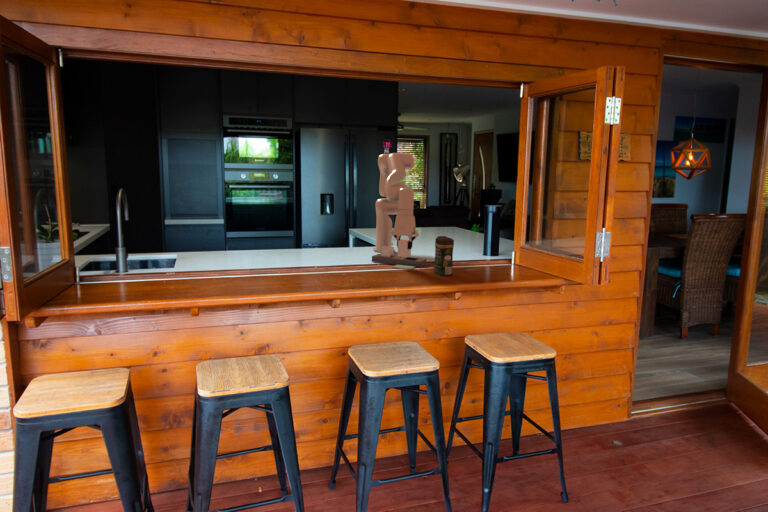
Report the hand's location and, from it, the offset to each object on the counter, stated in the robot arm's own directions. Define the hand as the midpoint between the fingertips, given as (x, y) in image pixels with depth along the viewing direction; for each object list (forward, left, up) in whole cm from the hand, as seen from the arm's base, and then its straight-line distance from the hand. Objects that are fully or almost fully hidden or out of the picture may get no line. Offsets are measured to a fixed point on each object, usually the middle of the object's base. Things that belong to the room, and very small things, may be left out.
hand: (404, 248), depth 265 cm
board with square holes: (-11, -7, -10) cm, 16 cm away
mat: (0, 0, -10) cm, 10 cm away
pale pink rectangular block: (0, 0, -4) cm, 4 cm away
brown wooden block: (-11, -14, -10) cm, 20 cm away
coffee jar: (+3, +22, -11) cm, 25 cm away
